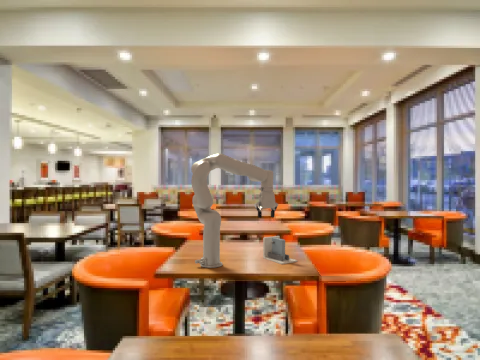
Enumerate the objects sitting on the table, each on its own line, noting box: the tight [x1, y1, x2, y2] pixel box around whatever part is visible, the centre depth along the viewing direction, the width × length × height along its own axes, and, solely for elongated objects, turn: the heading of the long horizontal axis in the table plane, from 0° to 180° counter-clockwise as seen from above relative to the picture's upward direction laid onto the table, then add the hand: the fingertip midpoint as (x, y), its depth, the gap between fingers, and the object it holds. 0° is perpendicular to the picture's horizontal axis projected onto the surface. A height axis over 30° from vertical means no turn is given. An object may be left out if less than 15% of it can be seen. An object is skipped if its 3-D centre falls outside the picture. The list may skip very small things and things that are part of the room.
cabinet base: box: [262, 235, 298, 265], centre depth 191 cm, size 12×18×13 cm, turn 32°
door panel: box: [272, 238, 286, 260], centre depth 191 cm, size 4×10×12 cm, turn 31°
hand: (266, 217), depth 196 cm, fingers open, 9 cm apart
